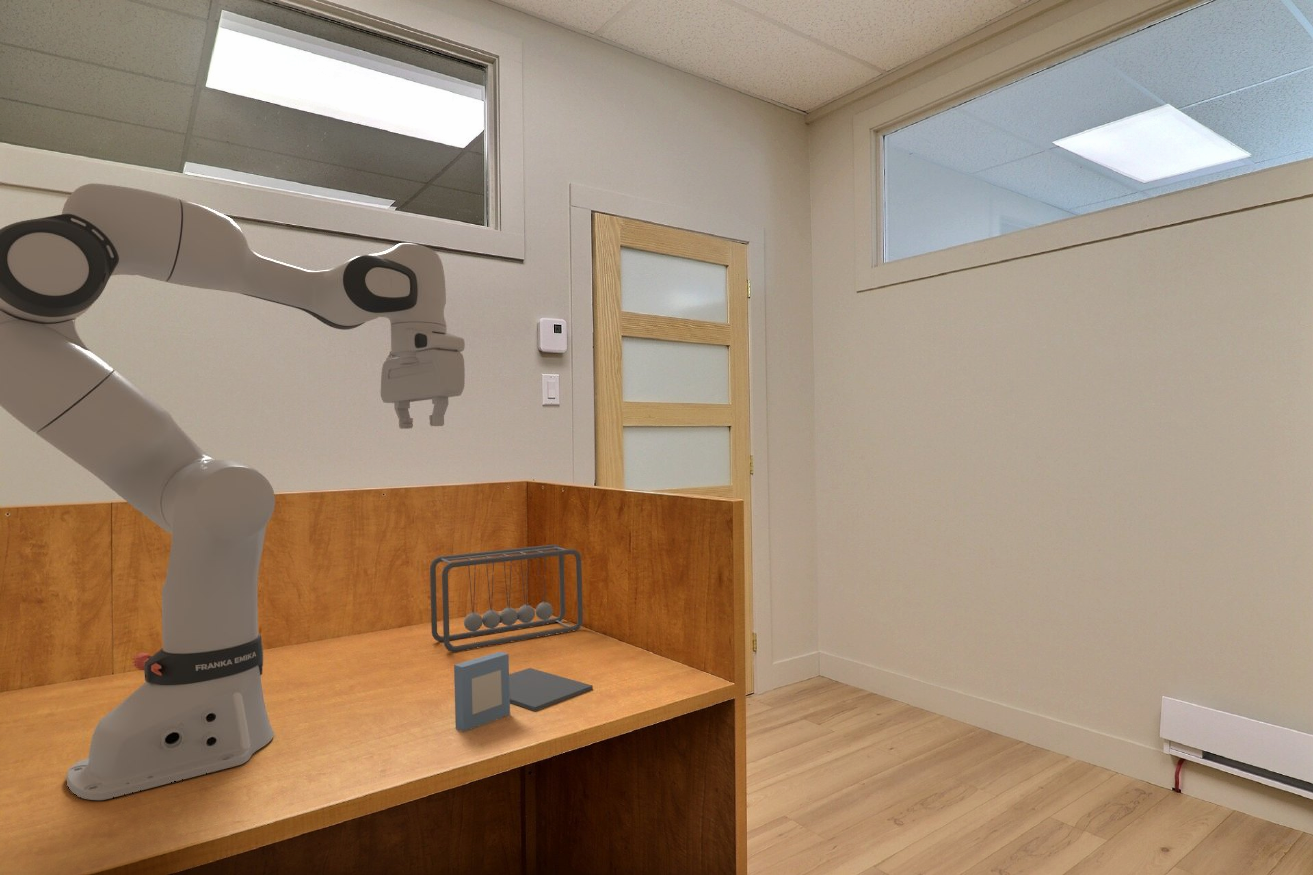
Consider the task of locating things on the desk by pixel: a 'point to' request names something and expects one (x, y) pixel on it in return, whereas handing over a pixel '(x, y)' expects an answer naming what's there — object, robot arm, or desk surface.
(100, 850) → the desk surface
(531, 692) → the mat
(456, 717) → the tile
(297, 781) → the desk surface
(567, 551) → the newton's cradle
